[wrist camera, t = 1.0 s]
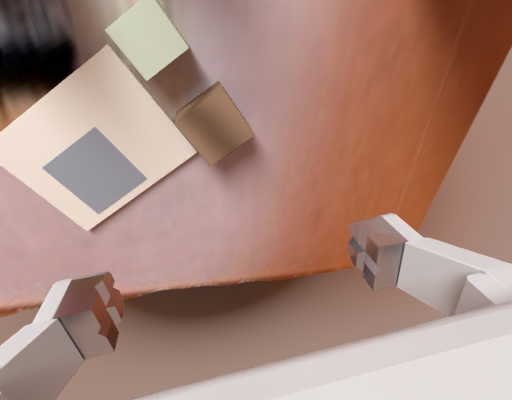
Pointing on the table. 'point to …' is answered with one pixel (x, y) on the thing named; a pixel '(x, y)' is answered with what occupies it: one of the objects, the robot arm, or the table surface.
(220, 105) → the walnut cube
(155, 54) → the sage cube
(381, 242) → the robot arm
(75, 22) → the table surface
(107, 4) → the table surface
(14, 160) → the white flat board
